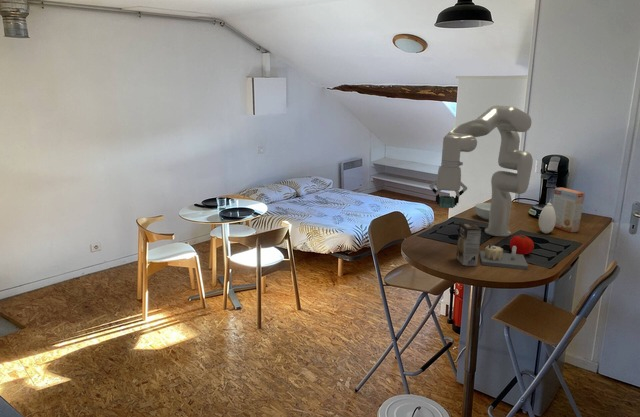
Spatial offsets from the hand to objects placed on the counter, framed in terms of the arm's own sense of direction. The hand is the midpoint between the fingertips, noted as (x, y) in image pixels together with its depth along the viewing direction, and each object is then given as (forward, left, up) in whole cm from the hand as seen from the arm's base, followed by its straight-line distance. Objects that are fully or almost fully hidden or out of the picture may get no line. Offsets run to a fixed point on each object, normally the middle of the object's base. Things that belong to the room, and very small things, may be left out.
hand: (446, 203), depth 219 cm
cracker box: (-54, +62, -22) cm, 85 cm away
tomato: (-6, +34, -22) cm, 41 cm away
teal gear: (0, 0, -1) cm, 1 cm away
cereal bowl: (-62, +25, -22) cm, 71 cm away
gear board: (+7, +25, -22) cm, 34 cm away
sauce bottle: (-43, +51, -22) cm, 70 cm away
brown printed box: (+12, +10, -22) cm, 27 cm away
